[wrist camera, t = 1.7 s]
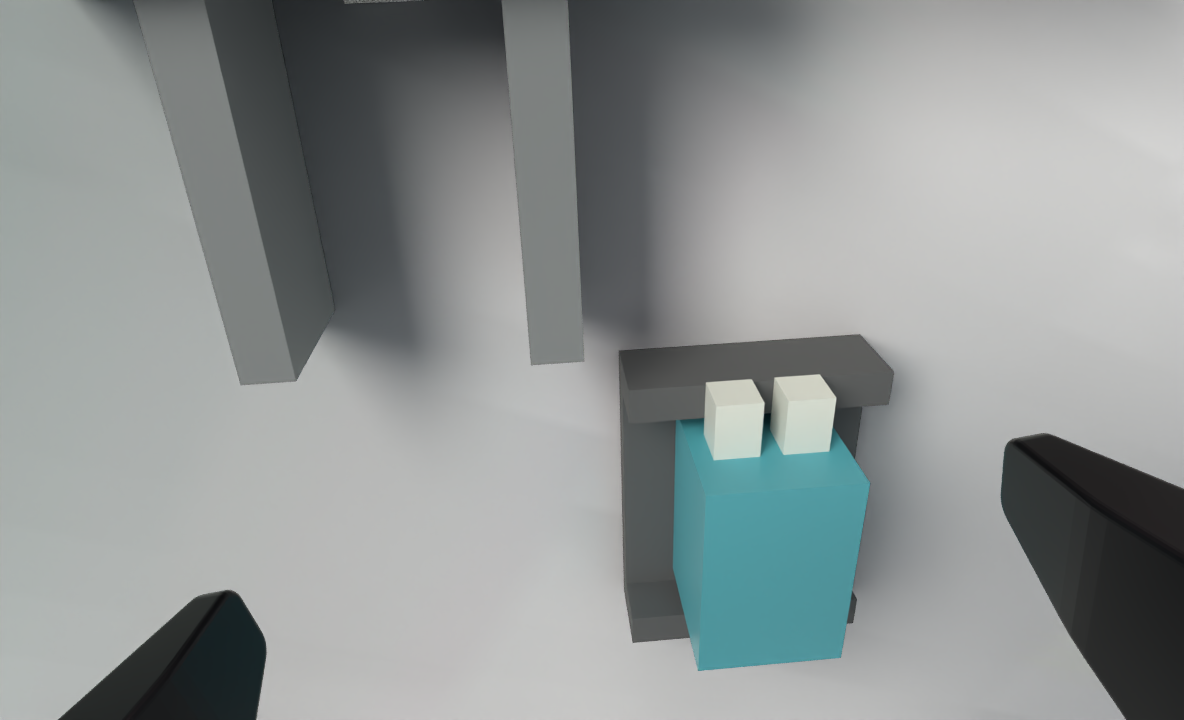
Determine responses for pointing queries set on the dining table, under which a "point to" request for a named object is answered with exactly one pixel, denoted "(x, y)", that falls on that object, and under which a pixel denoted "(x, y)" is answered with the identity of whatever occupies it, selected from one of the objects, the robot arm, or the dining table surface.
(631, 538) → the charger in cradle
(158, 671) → the robot arm
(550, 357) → the socket
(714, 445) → the plug
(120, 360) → the dining table surface
